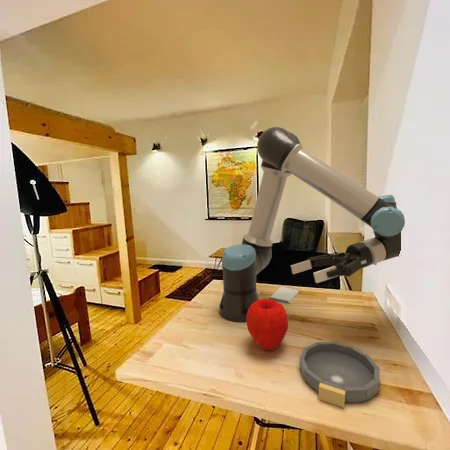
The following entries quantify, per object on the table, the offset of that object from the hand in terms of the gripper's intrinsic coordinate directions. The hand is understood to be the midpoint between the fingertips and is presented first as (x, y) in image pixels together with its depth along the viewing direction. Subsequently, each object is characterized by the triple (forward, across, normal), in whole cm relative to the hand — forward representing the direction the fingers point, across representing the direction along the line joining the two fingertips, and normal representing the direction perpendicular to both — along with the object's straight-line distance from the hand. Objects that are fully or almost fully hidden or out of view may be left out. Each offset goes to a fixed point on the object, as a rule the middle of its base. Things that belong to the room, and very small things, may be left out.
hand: (302, 273), depth 78 cm
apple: (+15, +1, -17) cm, 23 cm away
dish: (+4, -14, -21) cm, 26 cm away
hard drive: (-4, +30, -17) cm, 35 cm away
